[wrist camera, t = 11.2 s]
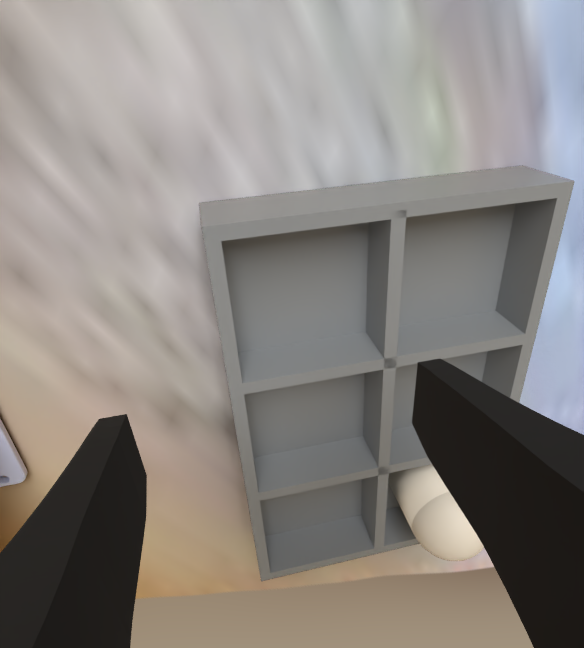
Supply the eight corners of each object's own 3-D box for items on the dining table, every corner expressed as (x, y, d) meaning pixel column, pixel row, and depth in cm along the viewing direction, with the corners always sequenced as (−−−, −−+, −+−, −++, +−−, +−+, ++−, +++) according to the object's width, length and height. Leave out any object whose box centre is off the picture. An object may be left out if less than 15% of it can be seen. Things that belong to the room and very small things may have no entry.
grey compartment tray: (254, 533, 29) (261, 581, 27) (199, 202, 18) (201, 227, 16) (461, 487, 32) (487, 527, 29) (522, 165, 21) (574, 181, 18)
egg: (386, 498, 29) (427, 587, 24) (387, 450, 27) (433, 536, 22) (449, 483, 30) (502, 566, 25) (456, 434, 27) (516, 515, 23)
